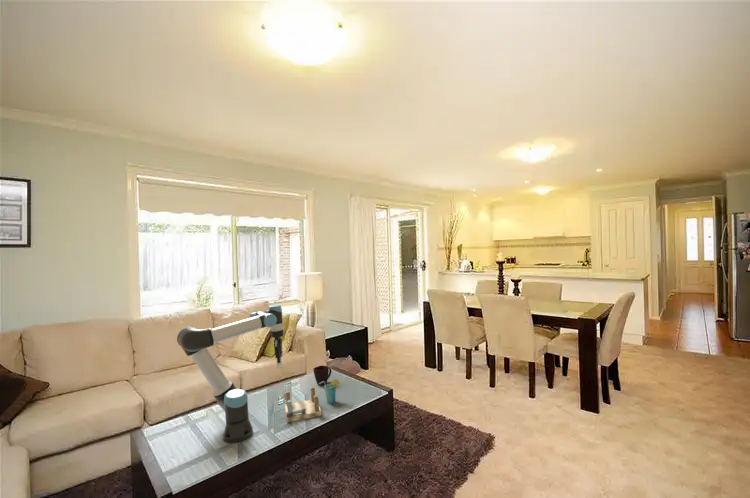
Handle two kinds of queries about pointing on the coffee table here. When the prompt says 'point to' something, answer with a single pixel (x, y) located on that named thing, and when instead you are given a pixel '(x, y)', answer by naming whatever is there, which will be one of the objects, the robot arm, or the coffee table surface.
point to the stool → (310, 406)
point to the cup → (331, 390)
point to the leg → (289, 405)
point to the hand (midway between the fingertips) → (279, 367)
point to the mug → (322, 374)
